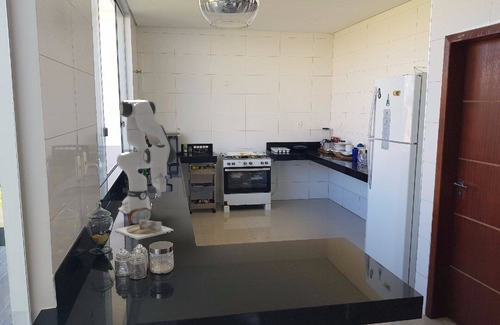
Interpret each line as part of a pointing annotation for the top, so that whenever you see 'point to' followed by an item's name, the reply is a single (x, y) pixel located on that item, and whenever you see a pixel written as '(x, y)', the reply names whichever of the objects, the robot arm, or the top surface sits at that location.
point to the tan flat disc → (145, 227)
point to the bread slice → (139, 215)
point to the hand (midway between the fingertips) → (158, 196)
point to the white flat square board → (141, 236)
